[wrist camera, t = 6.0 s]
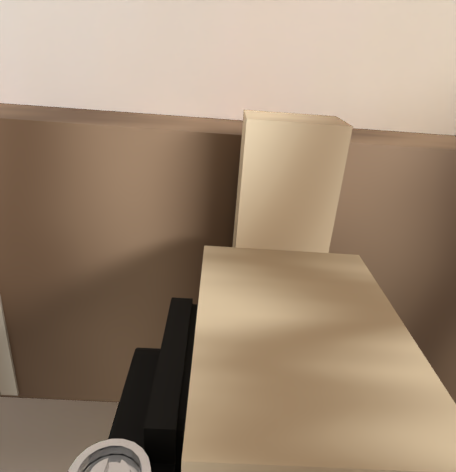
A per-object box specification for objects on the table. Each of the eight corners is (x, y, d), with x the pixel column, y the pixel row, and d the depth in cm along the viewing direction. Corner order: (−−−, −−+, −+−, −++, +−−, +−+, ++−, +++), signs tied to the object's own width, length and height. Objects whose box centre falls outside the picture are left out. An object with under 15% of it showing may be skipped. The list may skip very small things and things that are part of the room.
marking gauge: (342, 106, 13) (621, 244, 4) (285, 426, 19) (341, 780, 10) (214, 97, 13) (189, 216, 4) (197, 422, 18) (170, 778, 9)
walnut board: (606, 146, 14) (685, 166, 11) (502, 374, 18) (545, 424, 16) (-95, 96, 13) (-166, 107, 11) (-34, 347, 17) (-75, 395, 15)
